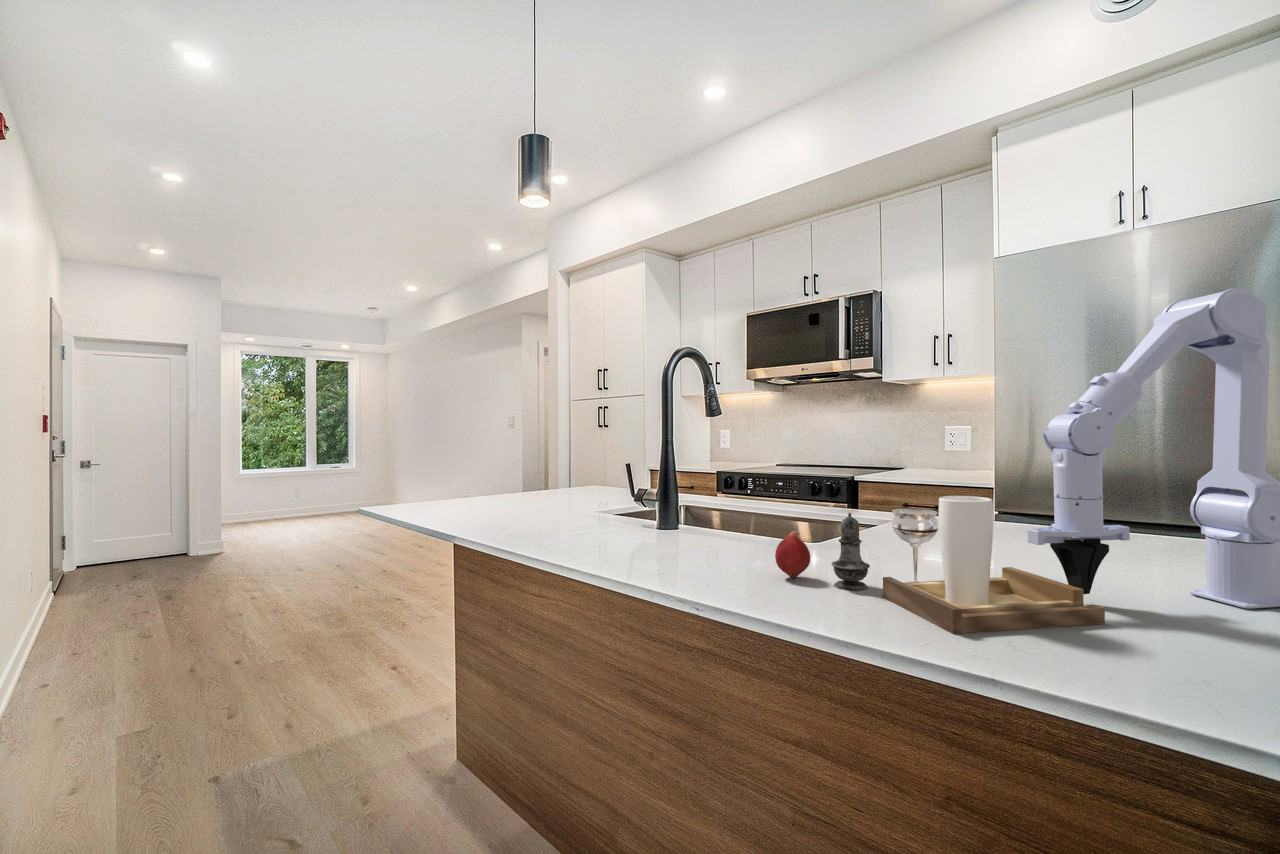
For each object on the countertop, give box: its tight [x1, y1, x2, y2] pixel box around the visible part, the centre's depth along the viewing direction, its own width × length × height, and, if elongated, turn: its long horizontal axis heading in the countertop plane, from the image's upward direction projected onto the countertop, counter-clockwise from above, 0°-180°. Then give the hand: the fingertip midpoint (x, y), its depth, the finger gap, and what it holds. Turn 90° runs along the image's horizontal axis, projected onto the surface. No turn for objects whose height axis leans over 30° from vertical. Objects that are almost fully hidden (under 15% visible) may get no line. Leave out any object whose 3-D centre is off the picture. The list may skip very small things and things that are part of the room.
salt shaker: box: [831, 511, 871, 592], centre depth 100 cm, size 6×6×12 cm
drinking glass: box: [938, 495, 995, 607], centre depth 86 cm, size 7×7×15 cm
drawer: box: [904, 566, 1085, 614], centre depth 86 cm, size 18×13×4 cm
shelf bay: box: [882, 576, 1106, 634], centre depth 86 cm, size 21×17×3 cm
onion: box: [774, 530, 811, 579], centre depth 106 cm, size 6×6×8 cm
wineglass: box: [891, 508, 939, 583], centre depth 99 cm, size 7×7×12 cm
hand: (1079, 592), depth 88 cm, fingers closed
